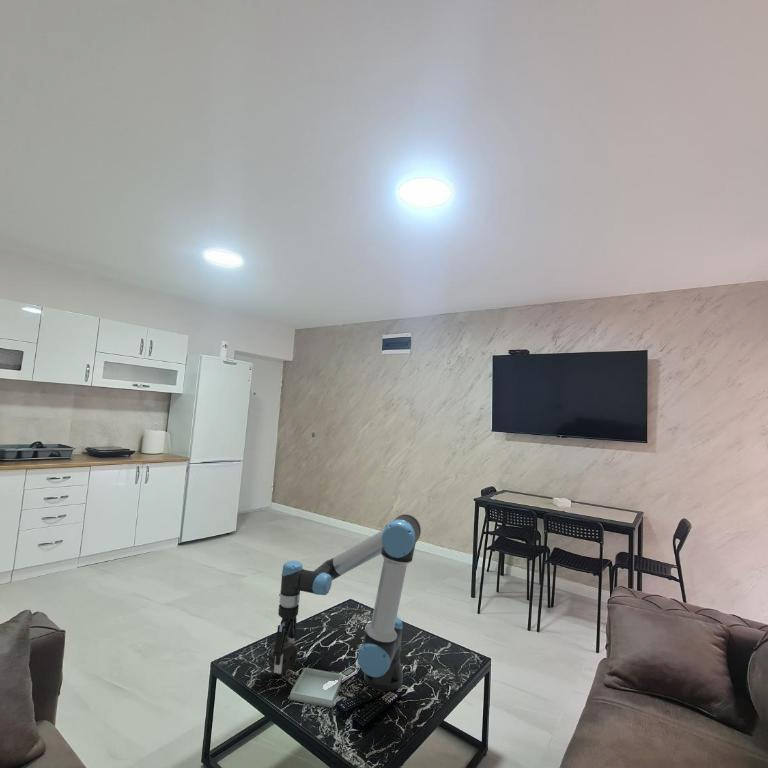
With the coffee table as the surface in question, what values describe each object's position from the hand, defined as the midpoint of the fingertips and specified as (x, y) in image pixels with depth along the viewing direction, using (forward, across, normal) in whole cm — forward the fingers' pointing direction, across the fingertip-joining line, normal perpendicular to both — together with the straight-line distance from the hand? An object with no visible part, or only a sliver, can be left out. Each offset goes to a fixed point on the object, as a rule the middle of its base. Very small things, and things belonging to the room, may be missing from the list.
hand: (283, 663), depth 159 cm
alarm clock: (+4, 0, 0) cm, 4 cm away
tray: (+4, +4, +15) cm, 16 cm away
